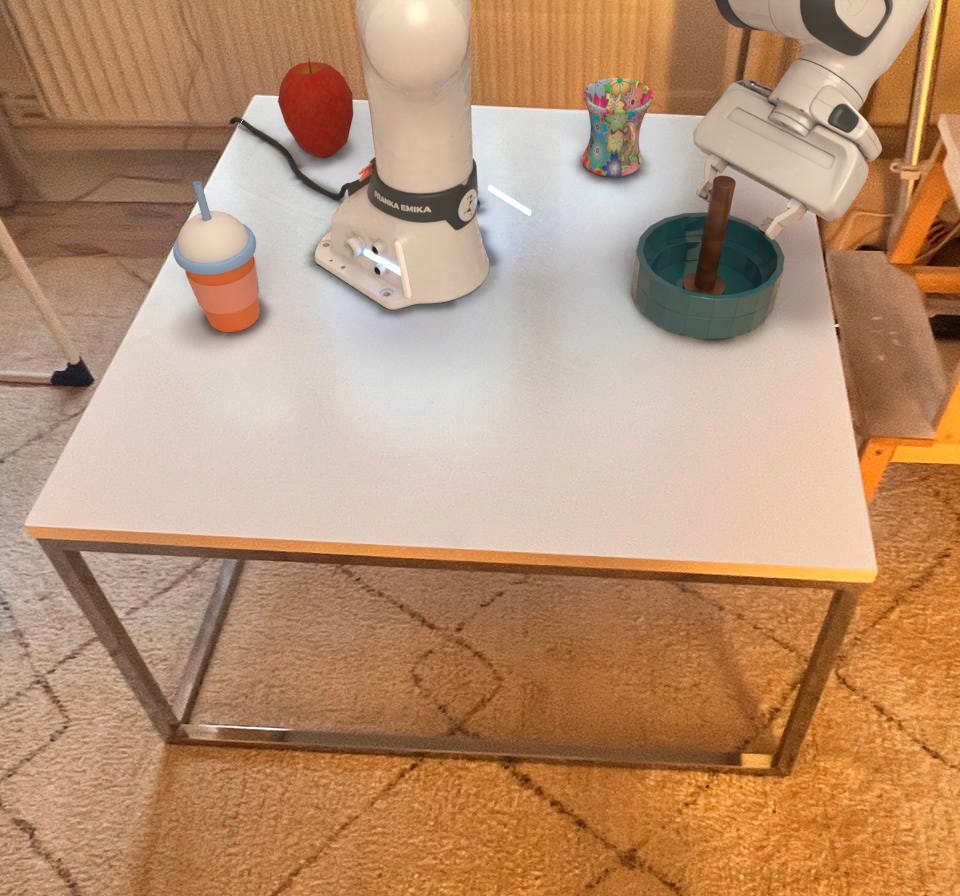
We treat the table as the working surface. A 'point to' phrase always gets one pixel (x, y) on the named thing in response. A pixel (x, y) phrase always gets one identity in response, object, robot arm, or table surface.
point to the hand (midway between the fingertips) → (732, 216)
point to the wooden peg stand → (713, 240)
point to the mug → (615, 125)
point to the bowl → (743, 267)
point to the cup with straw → (220, 266)
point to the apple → (316, 107)
